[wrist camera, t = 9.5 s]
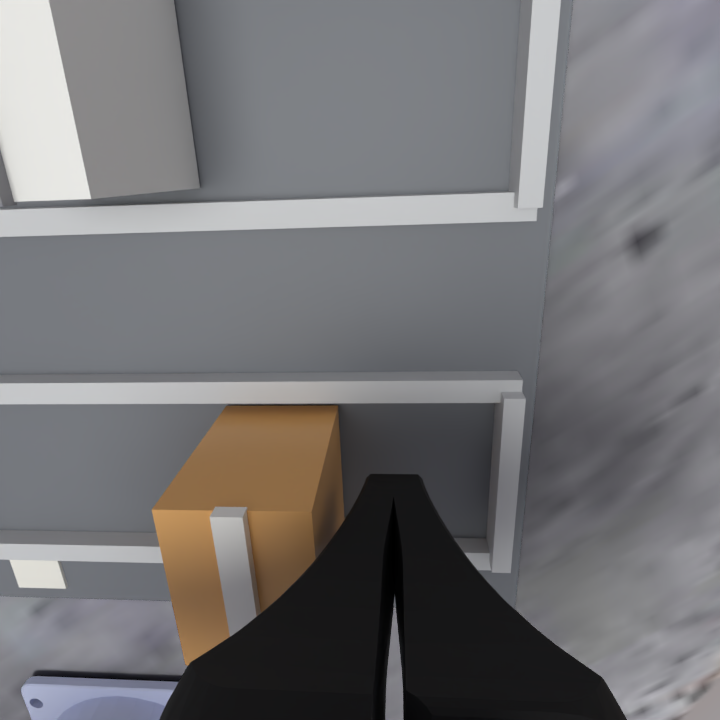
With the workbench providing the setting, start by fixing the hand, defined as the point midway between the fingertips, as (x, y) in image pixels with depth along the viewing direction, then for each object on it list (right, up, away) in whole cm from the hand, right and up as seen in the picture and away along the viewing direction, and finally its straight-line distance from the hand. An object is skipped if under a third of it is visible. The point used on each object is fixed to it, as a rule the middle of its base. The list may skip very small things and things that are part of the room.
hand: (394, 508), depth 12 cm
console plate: (-7, +5, +2) cm, 9 cm away
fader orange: (-3, +1, +2) cm, 3 cm away
